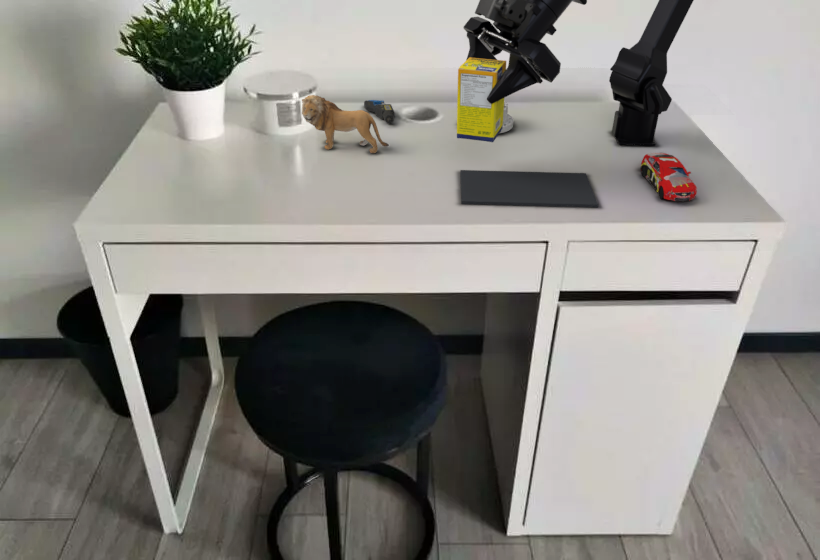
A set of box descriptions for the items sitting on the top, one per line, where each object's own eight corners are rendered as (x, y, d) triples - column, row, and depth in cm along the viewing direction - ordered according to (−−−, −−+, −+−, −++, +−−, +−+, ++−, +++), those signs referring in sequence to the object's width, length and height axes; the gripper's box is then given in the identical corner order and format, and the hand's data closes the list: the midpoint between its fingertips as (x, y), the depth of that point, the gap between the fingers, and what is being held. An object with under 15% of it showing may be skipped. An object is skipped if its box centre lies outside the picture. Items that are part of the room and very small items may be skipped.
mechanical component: (459, 135, 127) (515, 136, 127) (461, 111, 125) (517, 112, 125) (457, 115, 136) (510, 116, 135) (458, 93, 133) (512, 94, 133)
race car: (699, 205, 105) (705, 181, 103) (662, 206, 105) (668, 181, 103) (669, 168, 116) (674, 145, 114) (636, 168, 116) (640, 145, 114)
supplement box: (502, 129, 112) (507, 59, 106) (493, 143, 107) (497, 71, 101) (466, 125, 114) (469, 56, 107) (455, 138, 109) (457, 67, 103)
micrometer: (363, 97, 139) (388, 96, 140) (363, 106, 140) (388, 105, 141) (370, 117, 129) (397, 116, 130) (370, 127, 130) (397, 126, 131)
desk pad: (585, 175, 113) (586, 173, 113) (597, 207, 104) (598, 204, 104) (460, 172, 114) (460, 169, 114) (461, 204, 105) (461, 201, 105)
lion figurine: (301, 151, 121) (297, 100, 116) (307, 140, 125) (303, 89, 120) (387, 154, 120) (386, 103, 115) (390, 142, 124) (389, 92, 119)
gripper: (477, -41, 106) (411, 44, 108) (552, -19, 92) (475, 78, 94) (517, 9, 113) (454, 87, 115) (592, 36, 99) (520, 125, 101)
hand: (473, 93), depth 106 cm, fingers closed on supplement box, 8 cm apart
